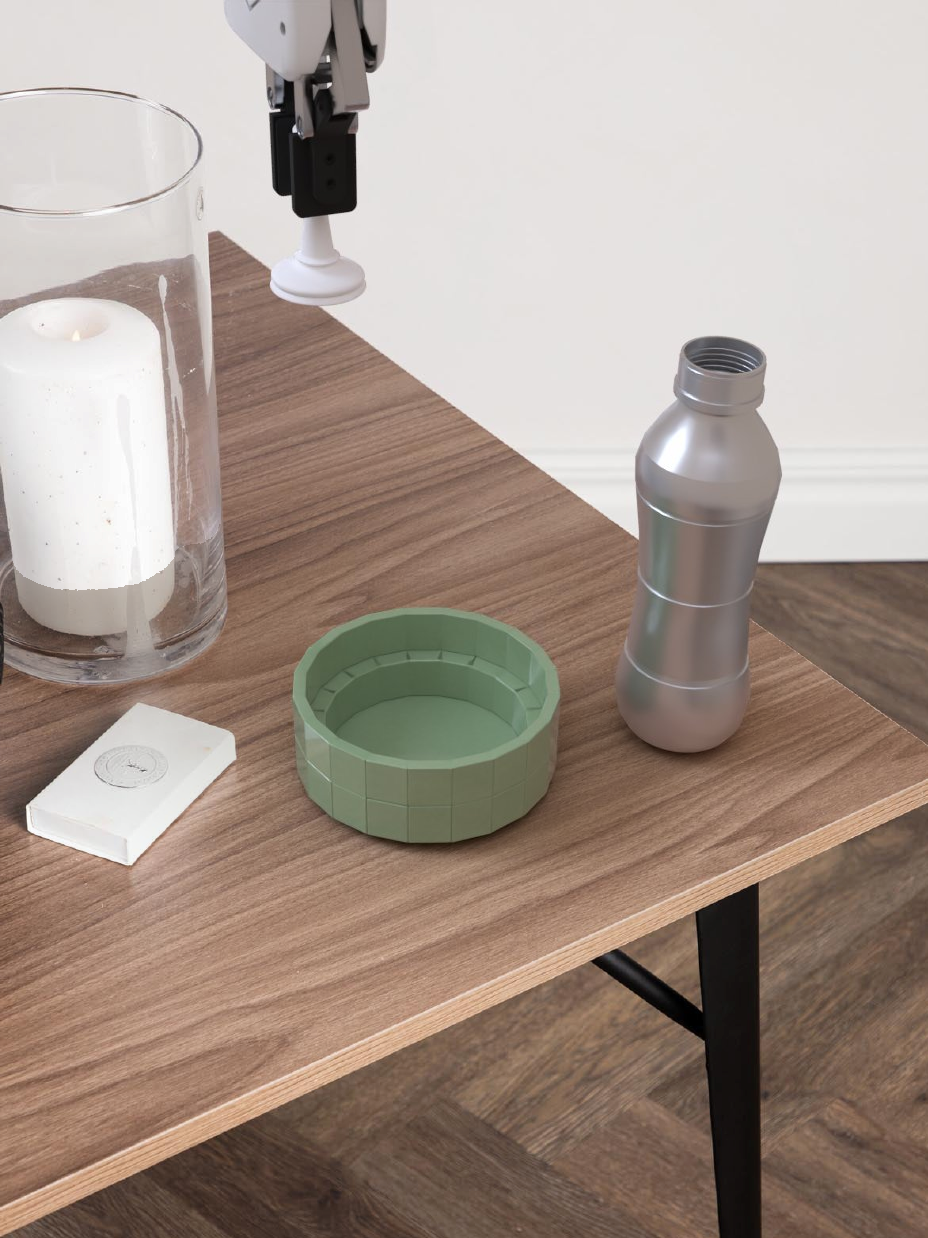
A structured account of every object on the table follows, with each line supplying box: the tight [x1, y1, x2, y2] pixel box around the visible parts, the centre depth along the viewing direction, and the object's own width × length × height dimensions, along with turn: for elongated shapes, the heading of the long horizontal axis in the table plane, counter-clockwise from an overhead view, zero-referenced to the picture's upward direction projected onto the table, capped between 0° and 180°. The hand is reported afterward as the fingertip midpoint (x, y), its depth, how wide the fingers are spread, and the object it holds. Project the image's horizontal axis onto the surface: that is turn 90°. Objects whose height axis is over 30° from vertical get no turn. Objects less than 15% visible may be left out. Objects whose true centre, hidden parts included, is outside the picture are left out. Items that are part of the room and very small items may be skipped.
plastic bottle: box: [614, 335, 783, 754], centre depth 78 cm, size 6×7×20 cm
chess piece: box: [269, 85, 367, 307], centre depth 85 cm, size 5×5×10 cm
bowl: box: [292, 606, 562, 844], centre depth 80 cm, size 12×12×5 cm
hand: (314, 199), depth 85 cm, fingers closed on chess piece
